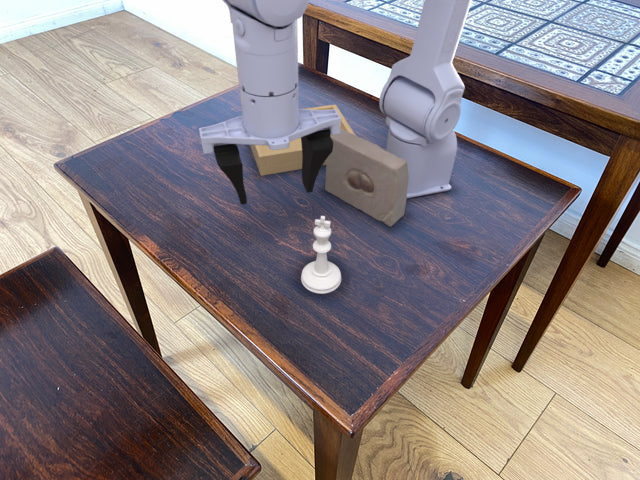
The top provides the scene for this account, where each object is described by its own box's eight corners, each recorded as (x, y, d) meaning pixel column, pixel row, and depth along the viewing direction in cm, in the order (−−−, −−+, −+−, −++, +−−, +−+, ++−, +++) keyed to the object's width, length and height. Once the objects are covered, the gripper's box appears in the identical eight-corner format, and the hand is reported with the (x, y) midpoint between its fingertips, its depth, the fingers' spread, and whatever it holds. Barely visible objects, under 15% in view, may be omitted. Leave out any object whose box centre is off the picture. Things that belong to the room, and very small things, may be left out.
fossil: (323, 191, 73) (324, 135, 67) (338, 180, 75) (341, 124, 69) (390, 228, 68) (399, 171, 61) (405, 215, 70) (415, 159, 63)
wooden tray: (335, 122, 87) (335, 104, 85) (357, 159, 79) (359, 141, 77) (246, 135, 84) (244, 116, 81) (260, 176, 76) (259, 156, 73)
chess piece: (337, 296, 59) (341, 235, 52) (296, 290, 60) (295, 229, 53) (344, 267, 63) (348, 206, 56) (306, 260, 63) (305, 199, 56)
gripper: (197, 113, 44) (217, 227, 53) (353, 92, 47) (346, 203, 57) (188, 77, 49) (208, 187, 58) (331, 60, 52) (327, 167, 61)
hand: (275, 193), depth 58 cm, fingers open, 7 cm apart
